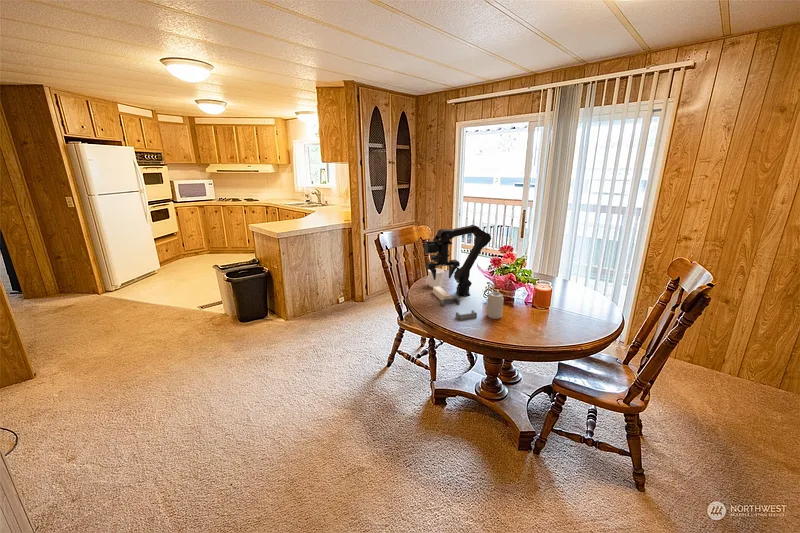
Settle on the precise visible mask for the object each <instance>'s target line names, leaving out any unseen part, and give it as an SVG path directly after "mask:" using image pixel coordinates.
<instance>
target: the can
mask: <svg viewBox="0 0 800 533" xmlns="http://www.w3.org/2000/svg"><path fill="white" fill-rule="evenodd" d="M504 299H505V298H504V296H503V294H502V293H501V292H495V291H493V292H489V295H488V296H487V305H486V316H487V317H488V318H489V319H493V320H498V319H500V318H502V317H503V310H504V301H505V300H504Z"/></svg>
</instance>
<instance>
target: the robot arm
mask: <svg viewBox="0 0 800 533" xmlns="http://www.w3.org/2000/svg"><path fill="white" fill-rule="evenodd" d="M469 234H473V236H474V237H475V238H474V244H473V247H472V249H471V250H470V251H469V254H468V255H467V257H466V259H465V261H464V263H463V265H462V266H461V265H460V264H461V263H460V261H459V260H457V259H450V260H449V258H450V254H449V245H453V242H451V240H453V239H454V238H455V237H460V236H464V235H469ZM491 239H492V236H491V234H490V233H489V232H486V231H484V230H483V229H481V228H479V226H477V225H475V224H471V225H467V226H461V227H457V228H440V229H438V230H437V233H436V235H435V236H434V238H433V239H432V240H426V241H425V243H424V246H423V250H424V253H425V254H430V260H431V261H428V262H427V261H426V263H425V265H424V266H425V268H426V269H427V270H431V272H432V275H433V278H434V280H435V279H436V269H435V268H437V267H447V266H448V279H451V278H452V276H453V279H454V280H455V281H456V284H457V286H456V291H455V293H456V295H458V297H468V296H469V297H470V296H471V294H470V287H472V284H473V283H472V282H471V280H470V272H471V269H472V267H473V266H474V264H475V262H476V260H477V258H478V257H479V256H480V253H481V252H482V250H483V248H485V247H486V246H488V244H489V243H490V242H491ZM435 254H436V255H435ZM460 266H461V267H460ZM453 274H454V275H453Z"/></svg>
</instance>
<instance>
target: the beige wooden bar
mask: <svg viewBox="0 0 800 533" xmlns="http://www.w3.org/2000/svg"><path fill="white" fill-rule="evenodd" d="M432 293H433V295H435V296H436V297H437V298H438V299H439V300H440V301H441V300H442V299H450V298H451V295H450V293H448V292H447V291H445V290H444V288H442V286H441V287H440V286H437V287H432Z"/></svg>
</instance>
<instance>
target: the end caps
mask: <svg viewBox="0 0 800 533" xmlns="http://www.w3.org/2000/svg"><path fill="white" fill-rule="evenodd" d="M460 302H461V300H460V299H459V298H457V297H450V299H442V300H440V302H439V303H440V306H442V307H443V308H444V307H446V306H445V305H448V304H457V305H458V306H459V305H460ZM477 316H478V313H477V312H476V311H475V310H471V313H464V314H460V313H459V312H455V318H456V319H457V320H458V321H465V320H471V319H472V320H473V319H476V318H477Z"/></svg>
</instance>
